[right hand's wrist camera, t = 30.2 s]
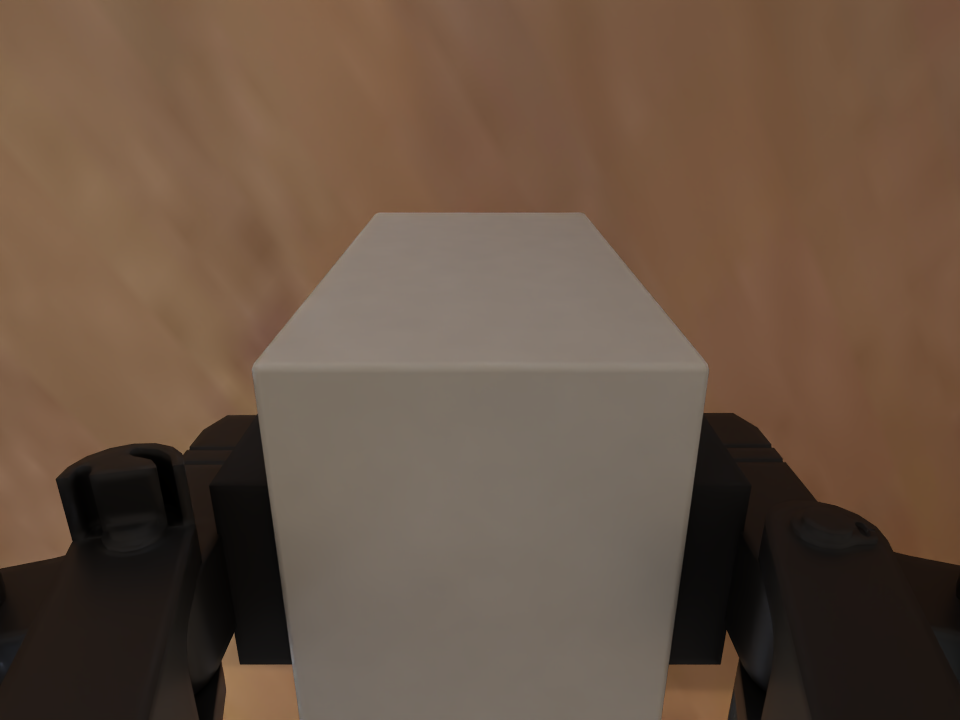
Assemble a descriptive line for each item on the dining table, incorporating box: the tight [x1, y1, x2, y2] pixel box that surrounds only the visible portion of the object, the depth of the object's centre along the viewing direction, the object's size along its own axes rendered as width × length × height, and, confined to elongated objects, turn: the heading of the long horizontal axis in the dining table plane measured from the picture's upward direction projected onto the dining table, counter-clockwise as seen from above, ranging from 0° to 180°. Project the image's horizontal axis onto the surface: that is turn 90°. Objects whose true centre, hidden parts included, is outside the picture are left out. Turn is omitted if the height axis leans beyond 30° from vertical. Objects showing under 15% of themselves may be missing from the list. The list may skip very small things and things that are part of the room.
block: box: [252, 213, 709, 720], centre depth 12 cm, size 5×6×9 cm
